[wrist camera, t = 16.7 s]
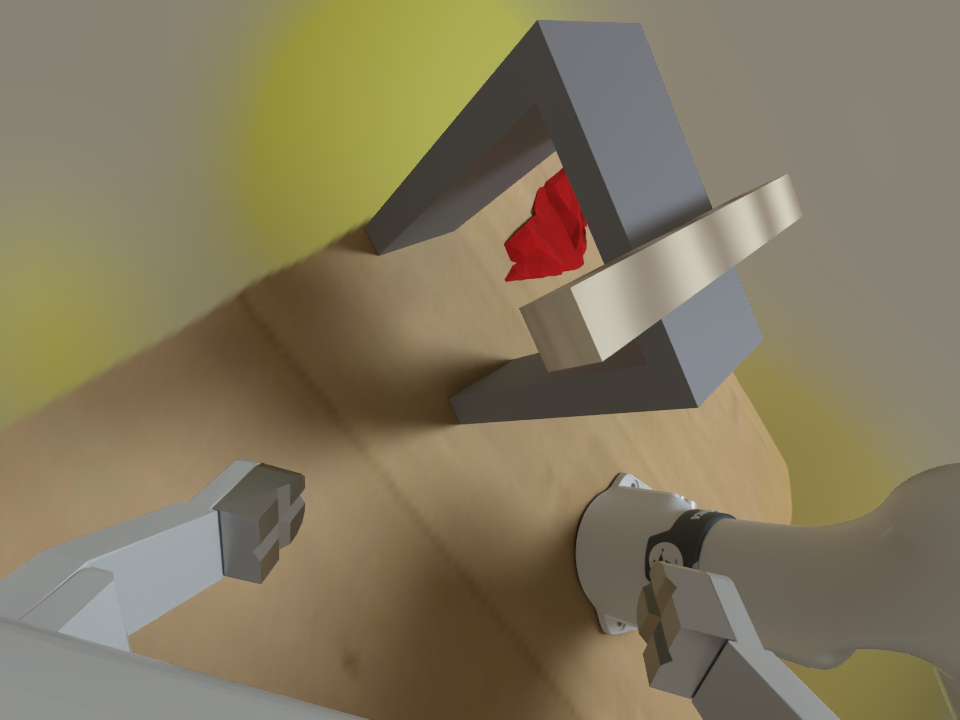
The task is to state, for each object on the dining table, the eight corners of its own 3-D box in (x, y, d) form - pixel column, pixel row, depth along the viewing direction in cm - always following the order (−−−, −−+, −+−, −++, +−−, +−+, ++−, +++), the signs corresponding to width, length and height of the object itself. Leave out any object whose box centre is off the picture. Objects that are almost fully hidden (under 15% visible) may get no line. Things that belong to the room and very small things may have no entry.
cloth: (524, 321, 54) (536, 317, 52) (459, 224, 51) (470, 216, 49) (620, 229, 68) (632, 223, 66) (573, 148, 65) (585, 139, 63)
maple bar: (741, 194, 32) (788, 173, 30) (756, 232, 32) (803, 215, 30) (519, 308, 19) (570, 287, 16) (548, 372, 19) (602, 361, 16)
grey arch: (442, 205, 49) (640, 23, 28) (524, 382, 52) (763, 339, 30) (364, 227, 44) (537, 20, 22) (460, 424, 46) (698, 407, 25)
